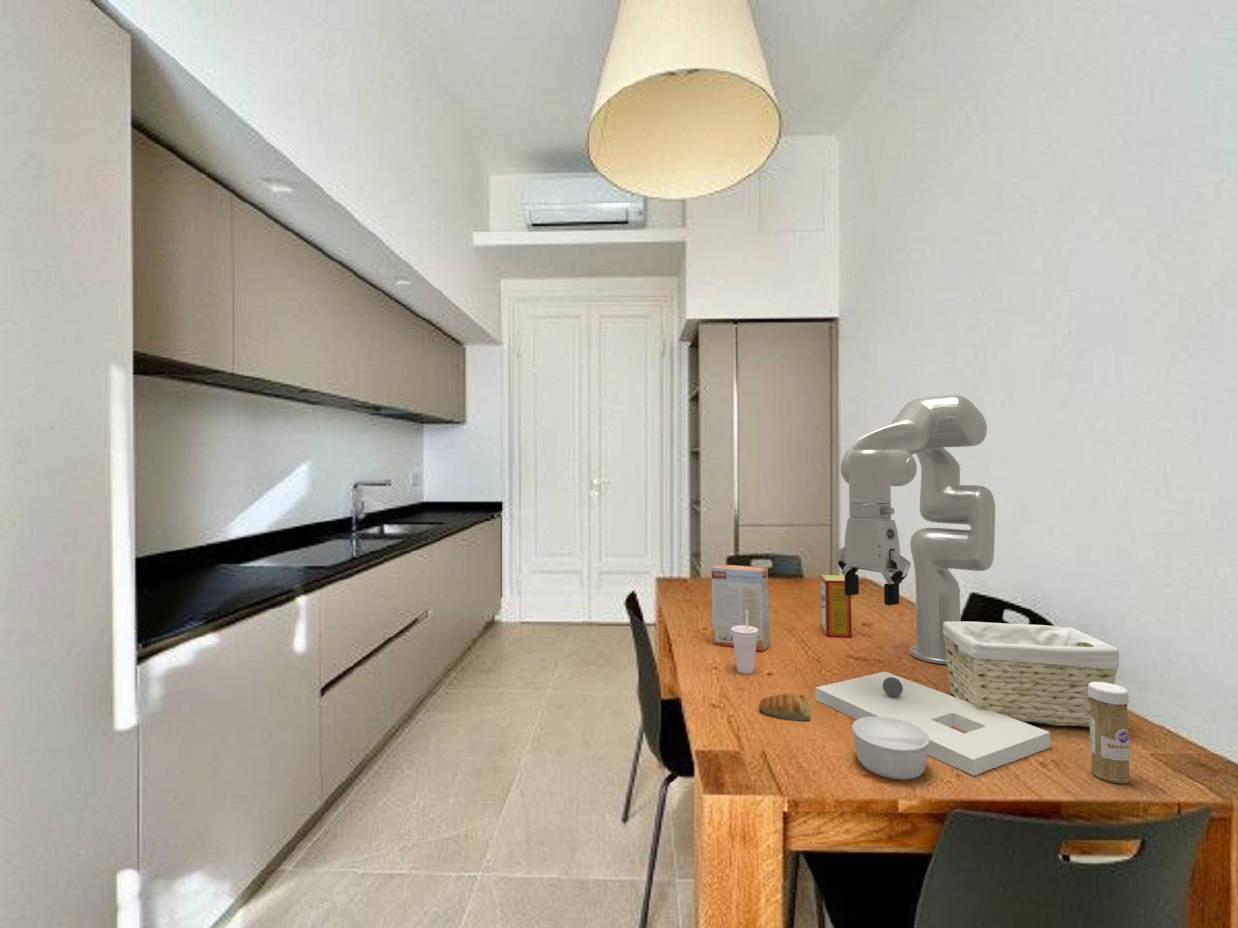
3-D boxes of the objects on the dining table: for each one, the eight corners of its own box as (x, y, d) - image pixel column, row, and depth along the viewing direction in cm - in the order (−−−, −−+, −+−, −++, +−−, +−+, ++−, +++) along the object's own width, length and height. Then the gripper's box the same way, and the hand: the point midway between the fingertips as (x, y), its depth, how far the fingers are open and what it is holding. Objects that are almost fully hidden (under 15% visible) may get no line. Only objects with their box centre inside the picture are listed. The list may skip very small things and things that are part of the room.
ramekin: (894, 791, 81) (894, 754, 81) (836, 756, 91) (835, 723, 91) (948, 774, 85) (947, 739, 86) (886, 742, 96) (885, 711, 96)
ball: (891, 691, 111) (890, 673, 111) (907, 697, 108) (906, 679, 108) (878, 694, 110) (878, 676, 110) (894, 700, 106) (894, 682, 106)
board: (815, 699, 113) (815, 687, 114) (885, 682, 122) (885, 671, 122) (973, 776, 85) (973, 759, 85) (1050, 747, 93) (1050, 732, 93)
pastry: (760, 719, 106) (759, 698, 106) (758, 705, 112) (758, 685, 112) (812, 723, 104) (812, 702, 104) (807, 708, 110) (807, 688, 110)
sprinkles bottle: (1120, 787, 81) (1117, 693, 81) (1083, 772, 85) (1081, 683, 85) (1137, 780, 83) (1135, 688, 83) (1100, 765, 87) (1098, 678, 87)
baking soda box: (821, 627, 166) (820, 573, 166) (844, 628, 164) (843, 573, 165) (826, 637, 156) (825, 579, 157) (851, 638, 155) (850, 579, 155)
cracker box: (770, 646, 149) (769, 566, 149) (763, 652, 144) (761, 570, 144) (720, 638, 156) (719, 563, 157) (711, 644, 151) (710, 566, 151)
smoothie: (760, 676, 127) (759, 614, 127) (731, 674, 128) (730, 612, 128) (758, 666, 133) (757, 607, 133) (731, 665, 134) (730, 606, 135)
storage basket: (1072, 698, 112) (1069, 623, 113) (1127, 735, 96) (1124, 648, 97) (940, 690, 117) (939, 619, 117) (973, 724, 101) (971, 642, 102)
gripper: (922, 514, 105) (923, 606, 104) (850, 509, 120) (851, 590, 120) (893, 515, 102) (894, 610, 101) (823, 510, 117) (824, 592, 117)
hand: (871, 599), depth 111 cm, fingers open, 9 cm apart
